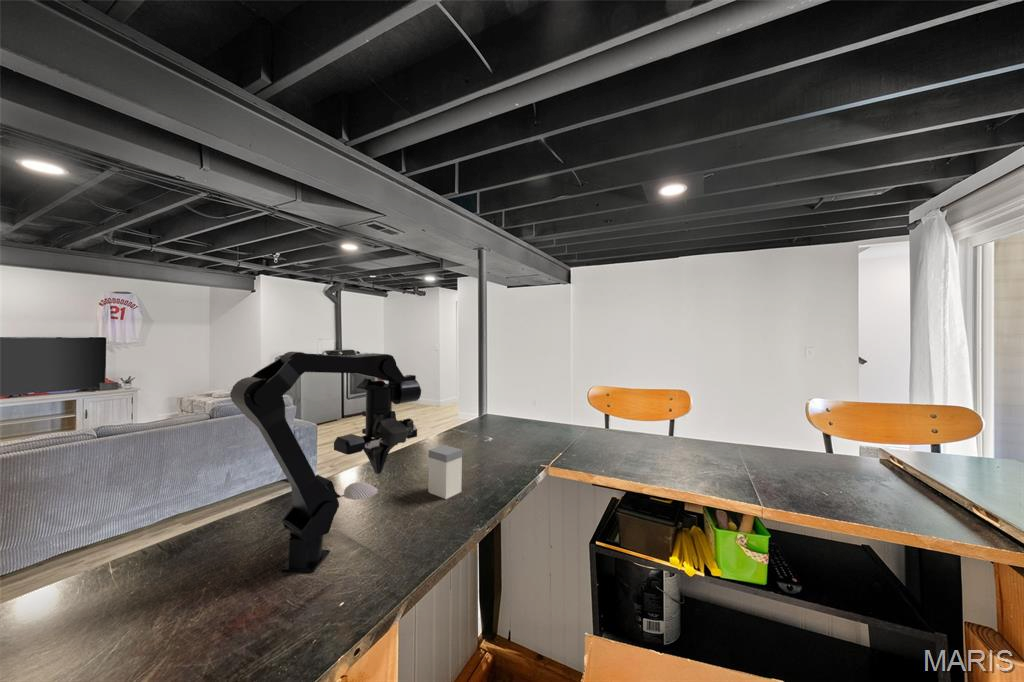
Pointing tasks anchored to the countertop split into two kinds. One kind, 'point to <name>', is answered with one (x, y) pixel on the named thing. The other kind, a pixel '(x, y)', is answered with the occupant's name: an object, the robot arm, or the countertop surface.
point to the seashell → (359, 491)
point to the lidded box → (445, 471)
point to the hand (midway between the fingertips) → (378, 473)
